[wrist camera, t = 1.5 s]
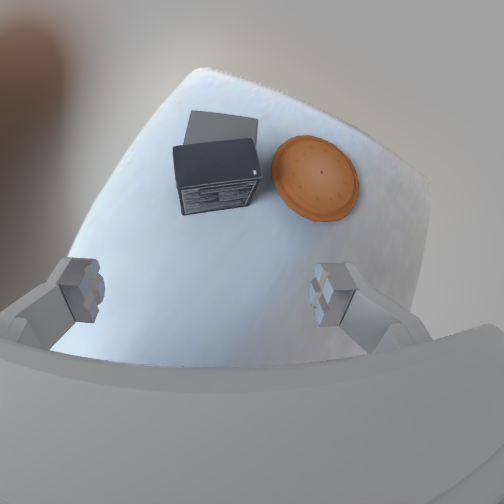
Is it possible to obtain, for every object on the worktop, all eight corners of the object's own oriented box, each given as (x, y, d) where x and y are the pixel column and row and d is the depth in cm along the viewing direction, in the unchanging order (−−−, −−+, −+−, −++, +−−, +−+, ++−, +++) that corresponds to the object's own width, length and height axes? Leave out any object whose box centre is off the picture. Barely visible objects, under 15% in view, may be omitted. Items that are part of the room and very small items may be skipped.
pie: (339, 241, 44) (354, 234, 39) (253, 206, 42) (260, 195, 38) (354, 167, 48) (368, 156, 43) (280, 133, 46) (288, 117, 41)
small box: (241, 169, 43) (254, 134, 33) (249, 206, 42) (265, 179, 32) (176, 178, 41) (171, 143, 31) (181, 216, 40) (176, 190, 30)
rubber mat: (252, 171, 43) (252, 170, 43) (179, 162, 41) (179, 161, 41) (256, 119, 45) (257, 119, 45) (191, 111, 43) (191, 110, 43)
